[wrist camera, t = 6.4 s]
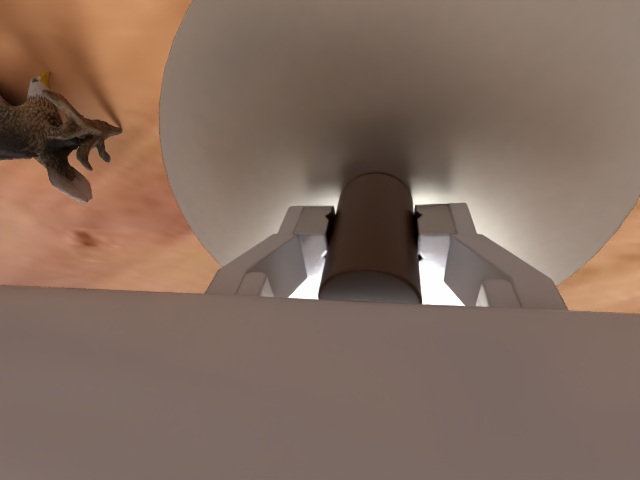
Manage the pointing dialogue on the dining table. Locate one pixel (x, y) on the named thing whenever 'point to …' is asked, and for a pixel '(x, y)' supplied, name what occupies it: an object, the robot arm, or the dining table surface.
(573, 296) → the dining table surface
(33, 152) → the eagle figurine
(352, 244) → the lid
